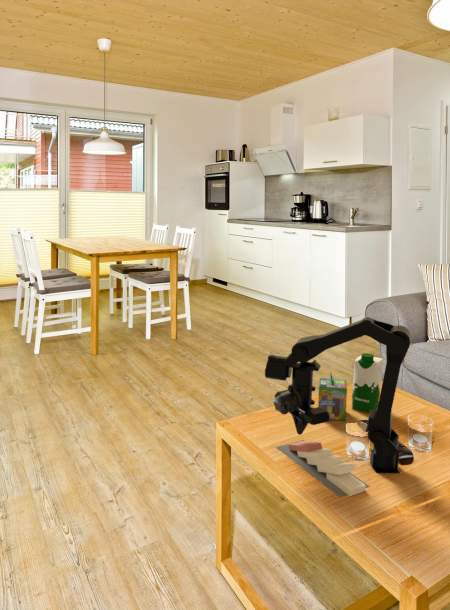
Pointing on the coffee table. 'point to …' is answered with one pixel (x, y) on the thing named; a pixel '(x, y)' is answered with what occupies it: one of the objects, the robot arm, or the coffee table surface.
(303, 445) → the domino
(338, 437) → the coffee table surface
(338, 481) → the domino
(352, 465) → the domino
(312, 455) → the domino
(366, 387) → the milk carton
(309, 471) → the mat
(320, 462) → the domino
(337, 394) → the juice carton
